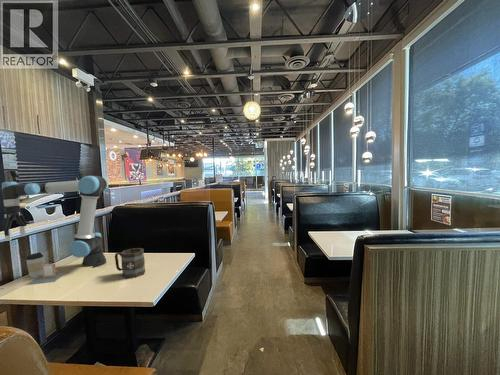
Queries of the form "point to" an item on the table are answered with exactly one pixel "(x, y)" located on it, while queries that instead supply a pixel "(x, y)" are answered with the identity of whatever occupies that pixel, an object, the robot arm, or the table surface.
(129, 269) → the mug
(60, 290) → the table surface
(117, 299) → the table surface
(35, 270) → the coffee cup
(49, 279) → the board
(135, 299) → the table surface
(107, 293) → the table surface
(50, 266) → the tile
